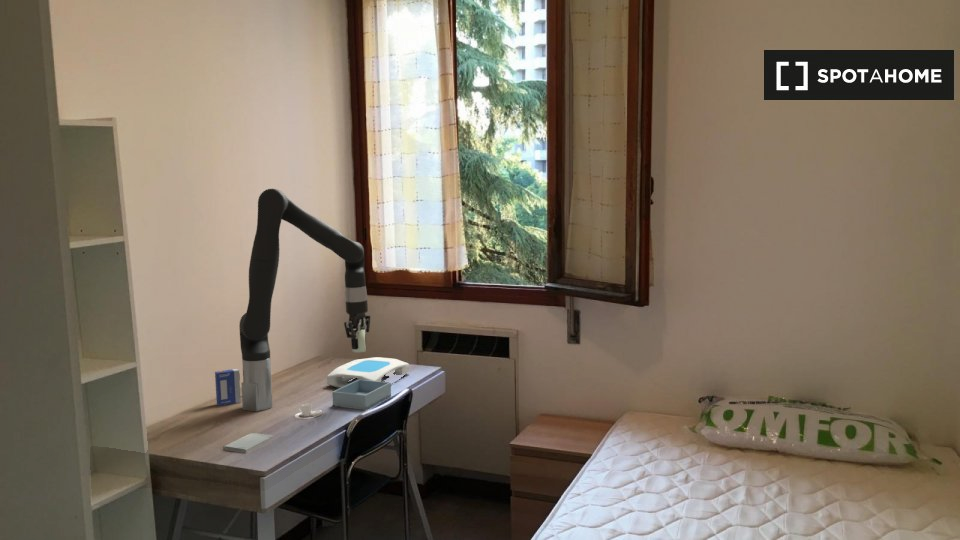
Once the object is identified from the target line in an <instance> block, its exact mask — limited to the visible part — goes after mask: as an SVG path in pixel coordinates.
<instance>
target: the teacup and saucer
mask: <svg viewBox="0 0 960 540" xmlns="http://www.w3.org/2000/svg"><path fill="white" fill-rule="evenodd" d="M300 407H301V409H300ZM298 410H299V412H298V413H296V414H294V417H295V419H298V420H307V419H308V420H309V419H314V418H316V417H318V416H321V415H323V410H321V409H316V410H314V411H313V410H312V403H309V402H306V403H303V404H299V406H298ZM300 415H302V416H303V417H300ZM309 416H310V417H309Z"/></svg>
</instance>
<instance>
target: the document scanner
mask: <svg viewBox="0 0 960 540" xmlns="http://www.w3.org/2000/svg"><path fill="white" fill-rule="evenodd" d="M391 371H395V372H394V373H393V374H394V375H395V374H396V375H404V374H406V373H407V372H408V373H409V372H410V364H409V363H408V362H405V361H402V360H400V359H397V358H390V357H380V356H379V357H378V356H377V357H376V356H375V357H368V358H360V359H354V360H352V361H349V362H347V363H345V364H341V365H340V366H338V367H336V368H335V369H333V370H332V371H331V372H330V373H329V374H328V375H327V376H326V385H327V386H331V387H333V388H336V389H339V388H341V387H344V386H346V385H348V384H350V383H351V382H349V383H347V382H348V381H349V380H351V379H353V378H357V379H358V380H359V379H362V380H371V381H380V382H381V381H382V382H385V381H383V380H382V378H384V377H385V376H384V375H386V374H387V373H389V372H391ZM408 373H407V374H408ZM407 374H406V375H407Z"/></svg>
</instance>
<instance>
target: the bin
mask: <svg viewBox="0 0 960 540" xmlns="http://www.w3.org/2000/svg"><path fill="white" fill-rule="evenodd" d="M349 383H350V384H348V385H346V386H344V387H341V388H336V389H335V390H333V391H332V393H331V394H332V395H331V398H332V406H333V405H335V406H334V407H338V406H341V407H340V408H346V407H347V409H357V410H361V411H362V410H363V411H366V410H369V409H371V408H372V407H374V406H376V405H378V404H380V403H382V402H384V401H385V400H387V399H389V398H391V397H390V396H392V384H391V383H389V382H380V381H371V380H365V379H359V378H358V379H355V380H353V381H351V382H349ZM388 397H389V398H388ZM379 402H380V403H379Z"/></svg>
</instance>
